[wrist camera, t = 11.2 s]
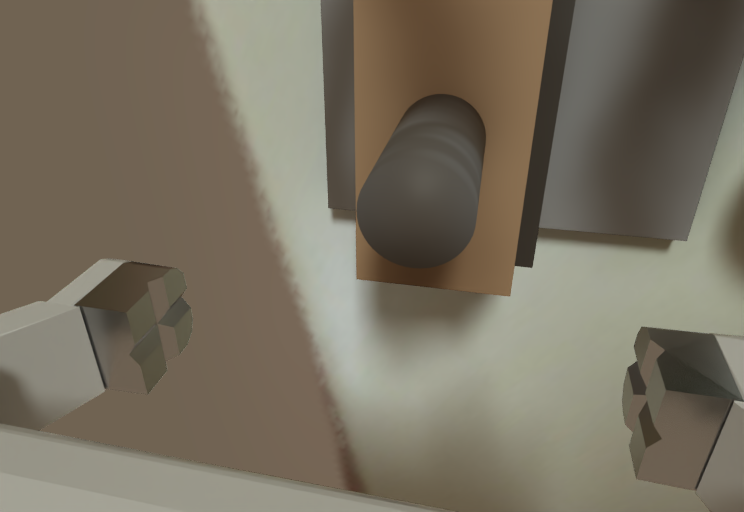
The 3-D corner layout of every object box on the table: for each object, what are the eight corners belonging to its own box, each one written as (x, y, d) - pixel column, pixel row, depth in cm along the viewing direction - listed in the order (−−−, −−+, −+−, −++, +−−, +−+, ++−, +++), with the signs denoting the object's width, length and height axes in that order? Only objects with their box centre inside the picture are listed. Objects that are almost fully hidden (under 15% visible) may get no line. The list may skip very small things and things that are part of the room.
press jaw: (567, -67, 23) (630, -57, 11) (526, 210, 29) (538, 416, 17) (397, -68, 24) (282, -60, 12) (391, 199, 30) (311, 382, 18)
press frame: (1317, -132, 19) (1955, -177, 11) (1053, 260, 27) (1306, 417, 18) (326, -121, 25) (231, -144, 17) (335, 197, 33) (273, 292, 24)
